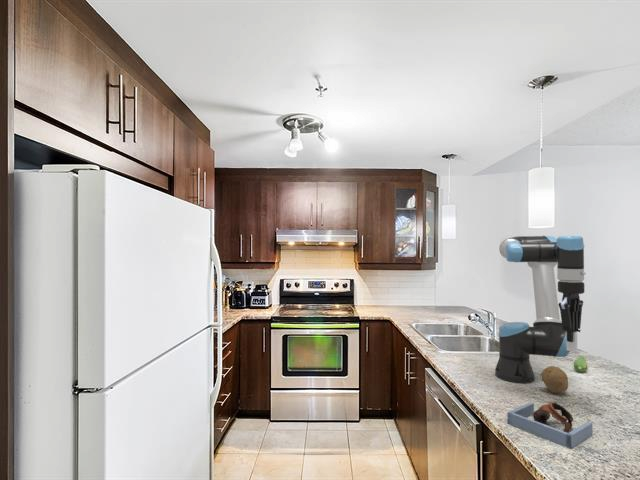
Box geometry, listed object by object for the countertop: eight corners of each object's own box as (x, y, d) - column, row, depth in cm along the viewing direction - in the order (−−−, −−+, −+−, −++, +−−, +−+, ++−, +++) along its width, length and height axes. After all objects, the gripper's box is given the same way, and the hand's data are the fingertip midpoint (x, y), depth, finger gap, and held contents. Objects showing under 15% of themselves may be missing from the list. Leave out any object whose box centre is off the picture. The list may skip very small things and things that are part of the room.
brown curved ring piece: (543, 418, 121) (558, 399, 119) (567, 444, 113) (584, 424, 110) (518, 415, 117) (533, 395, 114) (541, 441, 108) (558, 421, 106)
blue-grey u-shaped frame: (507, 423, 116) (507, 412, 116) (530, 412, 124) (530, 402, 124) (571, 448, 101) (570, 436, 101) (592, 434, 109) (592, 422, 109)
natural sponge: (543, 386, 148) (543, 361, 149) (570, 391, 143) (569, 365, 143) (539, 393, 141) (539, 367, 142) (567, 399, 136) (567, 371, 136)
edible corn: (571, 362, 166) (582, 361, 163) (576, 354, 181) (587, 353, 178) (575, 374, 165) (587, 373, 162) (580, 365, 180) (591, 364, 177)
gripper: (574, 283, 118) (575, 356, 117) (591, 280, 125) (593, 350, 125) (549, 281, 124) (550, 351, 124) (567, 279, 131) (568, 345, 131)
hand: (571, 350), depth 124 cm, fingers closed
